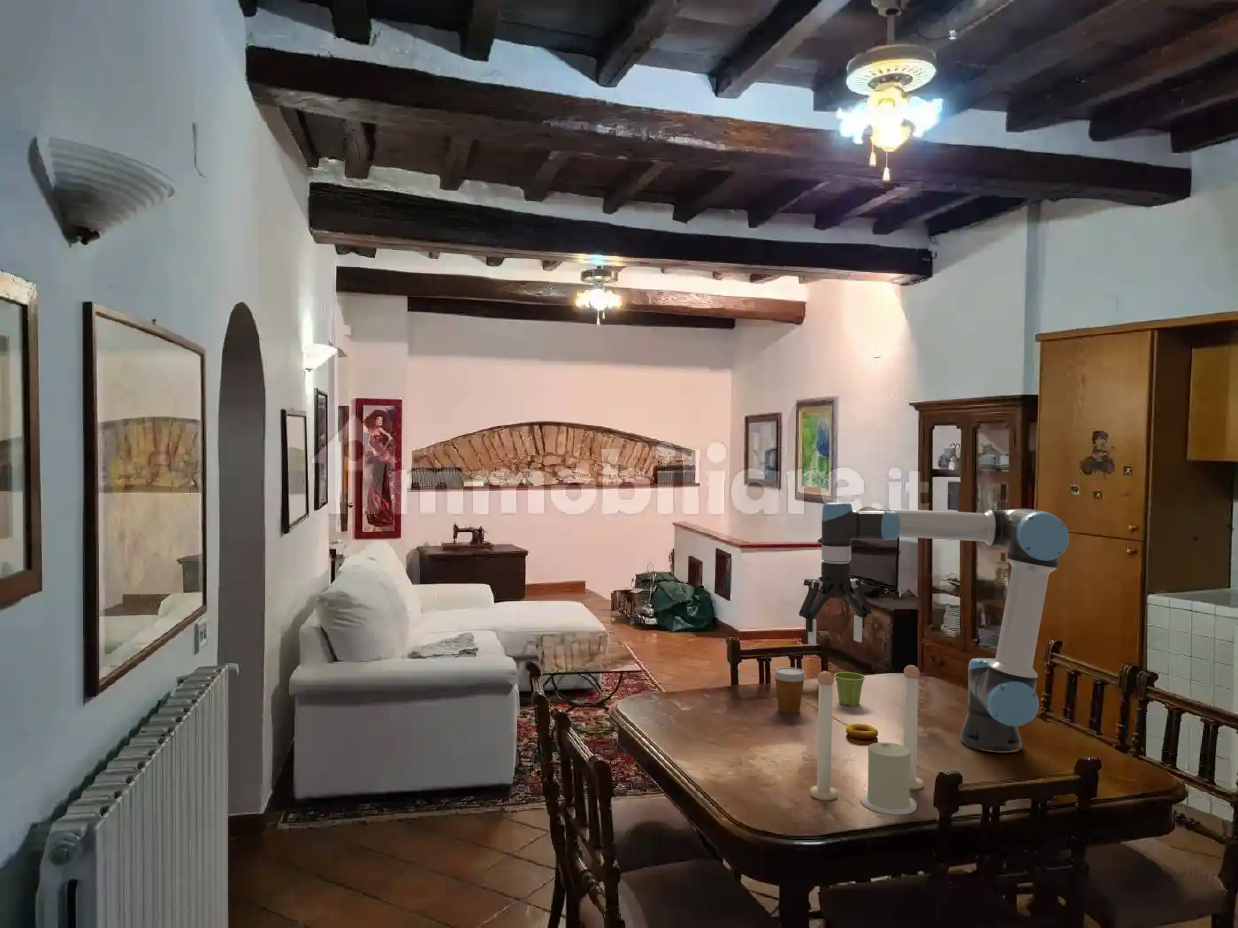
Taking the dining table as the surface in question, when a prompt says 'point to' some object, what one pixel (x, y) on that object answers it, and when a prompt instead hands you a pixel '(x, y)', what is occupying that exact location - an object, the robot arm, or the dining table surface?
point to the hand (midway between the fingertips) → (835, 642)
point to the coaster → (902, 811)
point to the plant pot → (849, 687)
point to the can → (889, 775)
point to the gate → (825, 732)
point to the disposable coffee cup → (789, 688)
